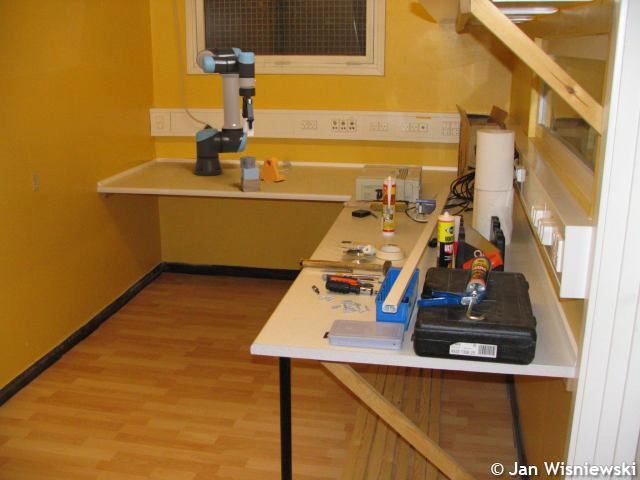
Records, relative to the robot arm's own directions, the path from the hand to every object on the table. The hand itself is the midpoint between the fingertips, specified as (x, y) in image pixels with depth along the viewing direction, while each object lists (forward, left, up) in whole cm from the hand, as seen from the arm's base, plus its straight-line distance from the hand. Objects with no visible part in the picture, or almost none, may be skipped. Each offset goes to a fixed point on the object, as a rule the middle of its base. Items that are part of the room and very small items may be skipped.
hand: (248, 134), depth 314 cm
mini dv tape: (+63, +63, -27) cm, 93 cm away
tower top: (0, 0, -21) cm, 21 cm away
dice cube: (0, -1, -16) cm, 16 cm away
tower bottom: (0, 0, -27) cm, 27 cm away
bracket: (-20, +15, -27) cm, 37 cm away
